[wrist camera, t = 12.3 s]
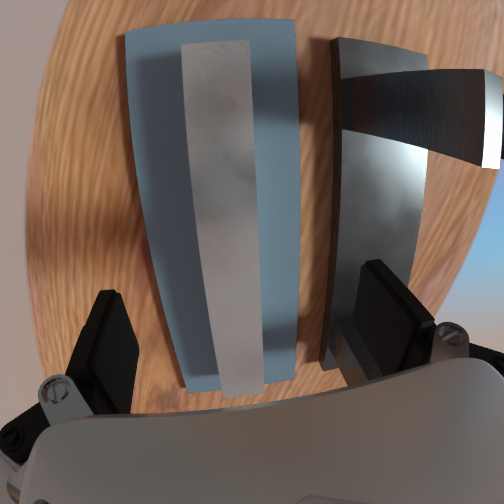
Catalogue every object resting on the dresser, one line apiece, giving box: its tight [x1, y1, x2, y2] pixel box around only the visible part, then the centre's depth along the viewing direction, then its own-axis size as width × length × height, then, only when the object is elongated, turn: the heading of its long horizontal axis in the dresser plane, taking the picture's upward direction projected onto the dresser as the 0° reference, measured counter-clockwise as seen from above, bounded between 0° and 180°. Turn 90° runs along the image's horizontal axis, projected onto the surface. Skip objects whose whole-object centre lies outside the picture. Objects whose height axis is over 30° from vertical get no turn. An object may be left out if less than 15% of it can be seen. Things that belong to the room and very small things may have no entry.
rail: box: [181, 40, 264, 398], centre depth 17 cm, size 22×3×2 cm, turn 3°
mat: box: [125, 18, 300, 393], centre depth 18 cm, size 26×9×1 cm, turn 3°
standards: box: [319, 37, 504, 386], centre depth 15 cm, size 24×6×11 cm, turn 3°
